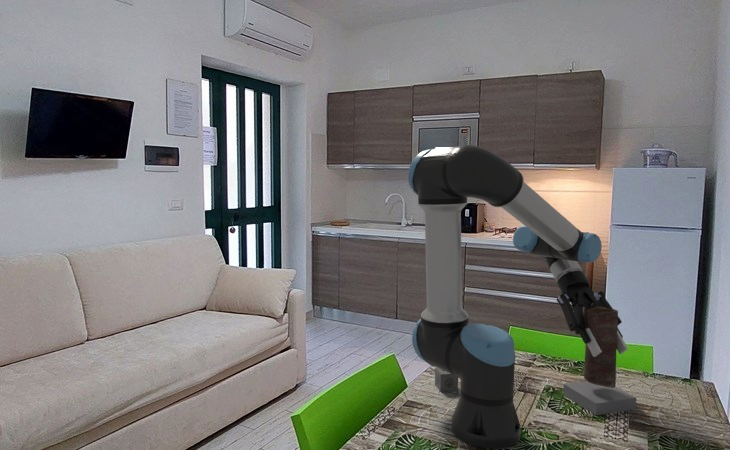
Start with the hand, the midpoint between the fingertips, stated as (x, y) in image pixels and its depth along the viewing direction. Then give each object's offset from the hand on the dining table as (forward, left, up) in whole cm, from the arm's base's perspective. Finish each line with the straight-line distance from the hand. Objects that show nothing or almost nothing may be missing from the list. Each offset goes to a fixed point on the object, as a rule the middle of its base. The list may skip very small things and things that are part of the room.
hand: (610, 352), depth 121 cm
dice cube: (-34, +22, -15) cm, 43 cm away
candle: (0, +4, -10) cm, 10 cm away
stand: (0, +3, -14) cm, 15 cm away
